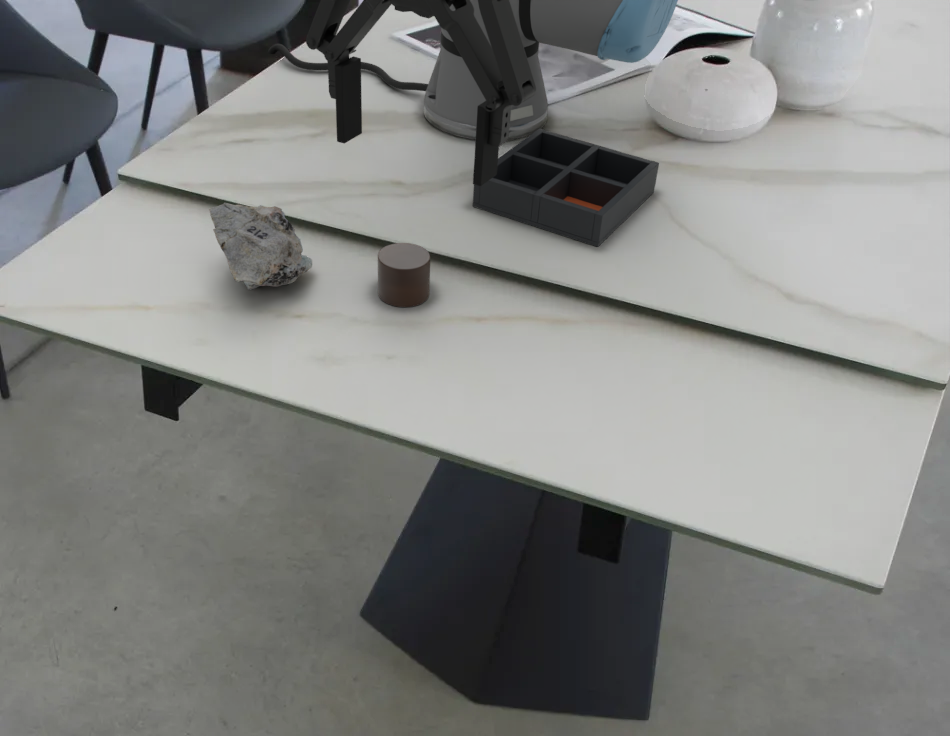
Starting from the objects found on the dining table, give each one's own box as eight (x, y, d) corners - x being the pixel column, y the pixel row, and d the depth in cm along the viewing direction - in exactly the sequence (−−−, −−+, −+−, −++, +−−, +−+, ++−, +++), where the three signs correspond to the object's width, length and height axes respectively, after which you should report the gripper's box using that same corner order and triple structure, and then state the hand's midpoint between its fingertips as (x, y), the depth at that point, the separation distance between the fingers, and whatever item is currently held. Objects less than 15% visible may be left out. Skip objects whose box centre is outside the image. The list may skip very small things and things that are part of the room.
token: (367, 296, 96) (367, 258, 93) (396, 274, 99) (396, 237, 96) (411, 313, 94) (411, 275, 91) (439, 290, 97) (440, 252, 94)
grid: (472, 206, 110) (474, 175, 107) (536, 157, 120) (539, 128, 117) (597, 247, 105) (602, 215, 102) (654, 192, 114) (659, 162, 112)
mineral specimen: (296, 320, 101) (192, 298, 98) (307, 240, 102) (204, 217, 99) (316, 296, 92) (202, 272, 89) (328, 210, 93) (215, 183, 89)
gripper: (249, -146, 75) (270, 135, 89) (553, -84, 67) (524, 215, 81) (311, -160, 80) (322, 107, 94) (601, -104, 72) (566, 181, 86)
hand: (415, 158), depth 88 cm, fingers open, 13 cm apart
